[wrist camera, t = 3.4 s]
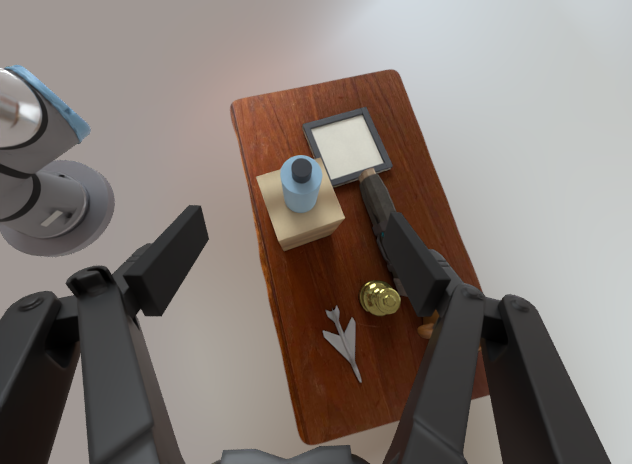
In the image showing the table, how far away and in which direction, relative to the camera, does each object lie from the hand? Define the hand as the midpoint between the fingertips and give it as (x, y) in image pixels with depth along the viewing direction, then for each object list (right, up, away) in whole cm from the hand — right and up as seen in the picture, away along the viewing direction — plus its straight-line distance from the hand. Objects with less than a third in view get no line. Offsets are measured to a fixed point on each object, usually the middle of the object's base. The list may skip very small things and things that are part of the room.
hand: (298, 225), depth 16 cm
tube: (+18, -1, +40) cm, 43 cm away
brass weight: (+15, -16, +37) cm, 42 cm away
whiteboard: (+9, +21, +43) cm, 49 cm away
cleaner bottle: (-1, +5, +23) cm, 23 cm away
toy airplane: (+7, -24, +34) cm, 42 cm away
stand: (-3, +2, +38) cm, 39 cm away
